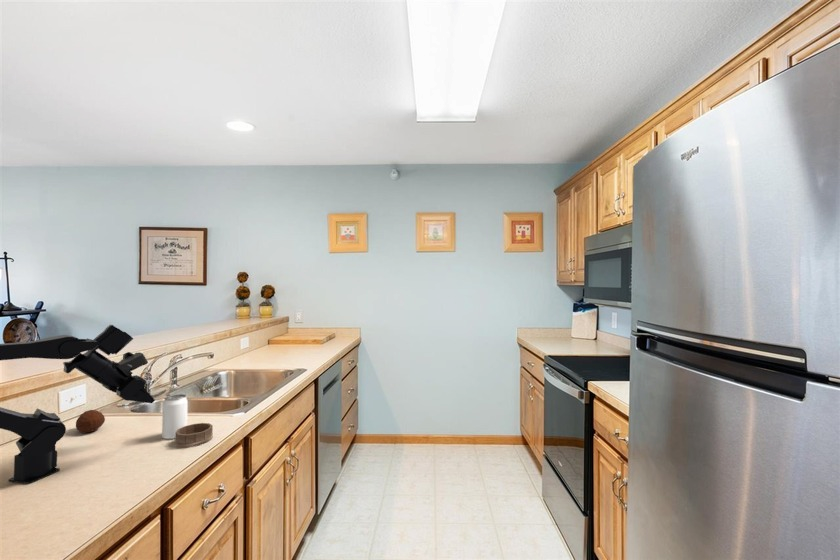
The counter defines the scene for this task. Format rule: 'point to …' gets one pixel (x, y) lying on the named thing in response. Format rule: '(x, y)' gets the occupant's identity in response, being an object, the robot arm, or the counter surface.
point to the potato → (89, 421)
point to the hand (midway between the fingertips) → (148, 398)
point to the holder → (194, 435)
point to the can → (174, 415)
